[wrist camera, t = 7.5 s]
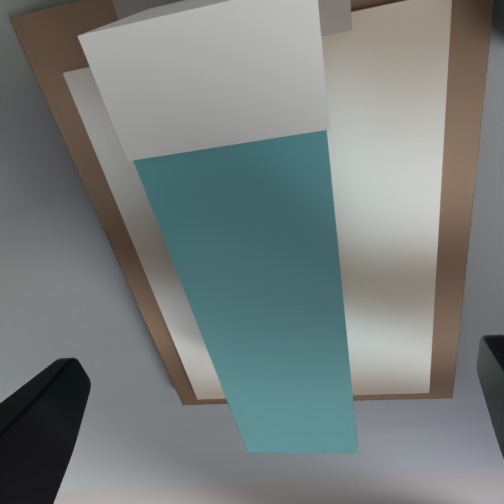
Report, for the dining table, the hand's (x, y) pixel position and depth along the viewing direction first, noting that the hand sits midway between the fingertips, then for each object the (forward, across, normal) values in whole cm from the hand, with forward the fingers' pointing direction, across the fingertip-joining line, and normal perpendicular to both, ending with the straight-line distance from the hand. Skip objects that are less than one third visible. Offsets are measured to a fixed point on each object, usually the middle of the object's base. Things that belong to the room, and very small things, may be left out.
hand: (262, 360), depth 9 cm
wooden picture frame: (+5, 0, 0) cm, 5 cm away
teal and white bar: (+4, 0, -1) cm, 4 cm away
